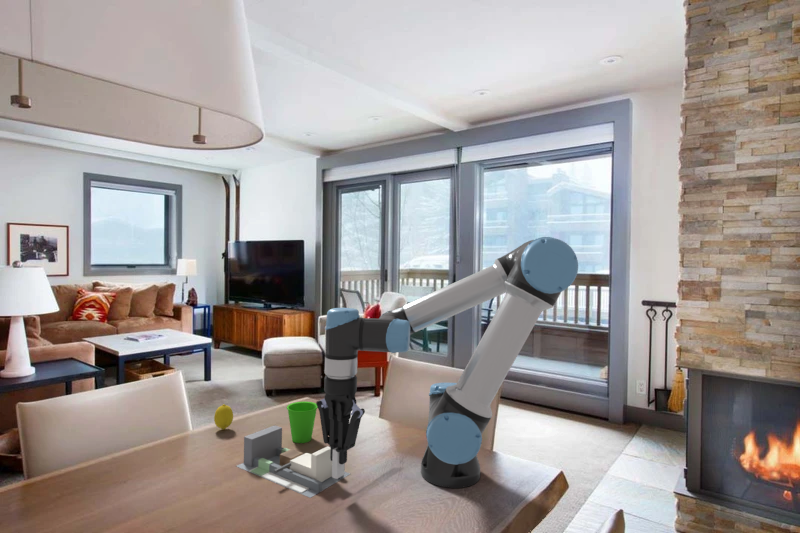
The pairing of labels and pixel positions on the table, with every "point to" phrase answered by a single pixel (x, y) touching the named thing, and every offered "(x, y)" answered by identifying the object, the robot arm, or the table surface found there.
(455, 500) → the table surface
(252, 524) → the table surface
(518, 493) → the table surface
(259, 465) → the base
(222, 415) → the lemon
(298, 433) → the cup
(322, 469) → the cream block
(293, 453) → the tan wooden cube
